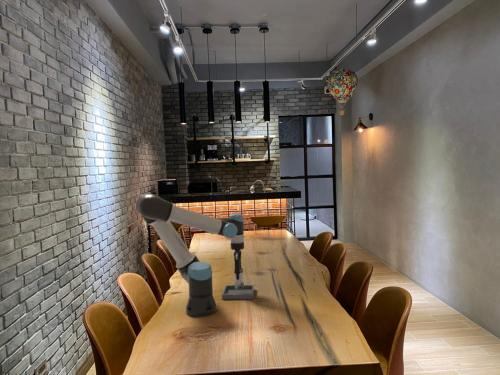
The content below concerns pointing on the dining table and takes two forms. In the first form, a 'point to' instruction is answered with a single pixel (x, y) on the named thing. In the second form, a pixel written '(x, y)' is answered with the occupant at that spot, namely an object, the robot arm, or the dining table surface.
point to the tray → (238, 292)
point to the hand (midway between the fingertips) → (238, 283)
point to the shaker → (241, 280)
